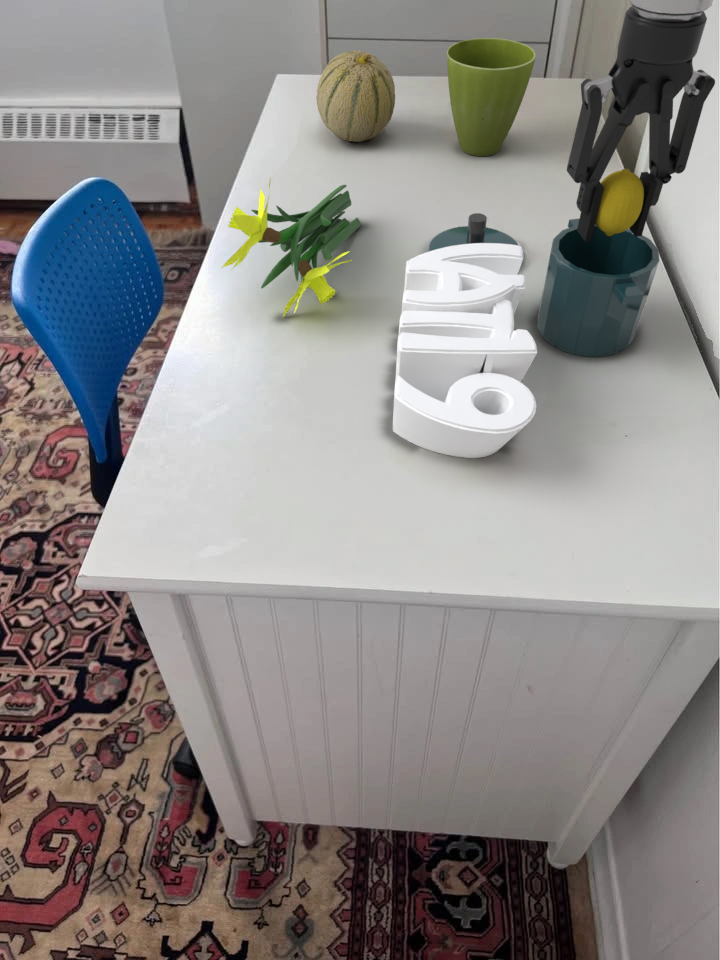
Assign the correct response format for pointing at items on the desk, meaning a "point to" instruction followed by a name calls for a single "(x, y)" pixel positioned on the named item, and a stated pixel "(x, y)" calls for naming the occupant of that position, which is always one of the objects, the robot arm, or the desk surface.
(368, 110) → the cantaloupe
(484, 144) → the flower pot
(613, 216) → the lemon
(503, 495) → the desk surface
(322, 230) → the daffodil flowers
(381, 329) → the desk surface
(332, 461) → the desk surface
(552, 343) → the pot
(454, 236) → the lid
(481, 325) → the wavy white extrusion
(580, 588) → the desk surface
